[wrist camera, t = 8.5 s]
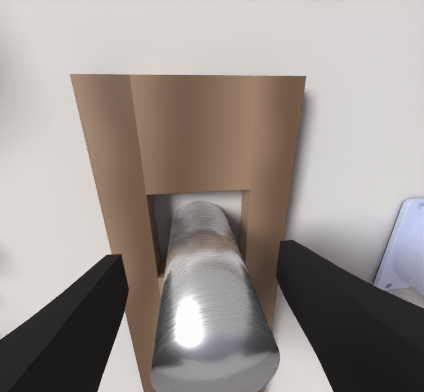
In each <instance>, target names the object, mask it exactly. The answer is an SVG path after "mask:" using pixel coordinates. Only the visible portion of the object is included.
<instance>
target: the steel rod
mask: <svg viewBox="0 0 424 392" xmlns="http://www.w3.org/2000/svg"><path fill="white" fill-rule="evenodd" d="M279 361H280V354H279V349H278V347H277V344H276V342H275V339H274V337H273V334H272V332H271V329H270V327H269V324H268V321H267V319H266V316H265V314H264V311H263V309H262V306H261V304H260V301H259V299H258V296H257V294H256V291H255V289H254V286H253V284H252V281H251V279H250V276H249V274H248V271H247V269H246V266H245V263H244V261H243V258H242V256H241V253H240V251H239V248H238V246H237V243H236V241H235V238H234V236H233V233H232V231H231V228H230V226H229V223H228V221H227V218H226V216H225V214H224V212H223V211H222V210H221V209H220V208H219V207H218V206H216V205H215V204H213V203H210V202H206V201H196V202H192V203H189V204H186V205H185V206H183V207H182V208H180V209H179V210H178V211H177V213H176V214H175V216H174V218H173V220H172V225H171V232H170V239H169V246H168V253H167V260H166V267H165V274H164V281H163V288H162V294H161V301H160V308H159V315H158V322H157V329H156V336H155V343H154V350H153V357H152V363H151V370H150V379H151V384H152V386H153V388H154V389H155V391H156V392H257V391H259V390H260V389H262V388H263V387H264V386H265V385H266V384H267V383H268V382H269V381H270V380H271V379H272V377H273V376H274V374H275V373H276V371H277V369H278V366H279Z"/></svg>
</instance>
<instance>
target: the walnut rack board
mask: <svg viewBox="0 0 424 392" xmlns="http://www.w3.org/2000/svg"><path fill="white" fill-rule="evenodd" d="M70 77H71V81H72V85H73V89H74V94H75V98H76V102H77V107H78V111H79V115H80V120H81V124H82V128H83V132H84V137H85V141H86V145H87V150H88V154H89V158H90V162H91V167H92V171H93V175H94V180H95V184H96V188H97V193H98V197H99V201H100V205H101V210H102V214H103V218H104V223H105V227H106V231H107V236H108V240H109V244H110V248H111V253H112V255H113V254H122V259H123V263H124V268H125V273H126V278H127V282H128V287H129V293H128V298H127V302H126V307H125V313H126V317H127V321H128V326H129V330H130V334H131V339H132V343H133V347H134V352H135V356H136V360H137V364H138V369H139V373H140V377H141V382H142V386H143V390H144V392H156V391H155V389H154V388H153V386H152V384H151V379H150V370H151V363H152V357H153V350H154V343H155V336H156V329H157V322H158V315H159V308H160V301H161V294H162V288H163V281H164V274H165V267H166V261H164V262H161V259H160V251H159V244H158V236H157V228H156V220H155V212H154V205H153V197H152V194H172V193H191V192H211V191H230V190H242V208H241V230H240V253H241V256H242V258H243V261H244V263H245V266H246V269H247V271H248V274H249V276H250V279H251V281H252V284H253V286H254V289H255V291H256V294H257V296H258V299H259V301H260V304H261V306H262V309H263V311H264V314H265V316H266V319H267V321H268V324H269V327H270V329H271V328H272V321H273V314H274V306H275V299H276V292H277V284H278V280H277V277H276V270H277V262H278V254H279V247H280V241H284V234H285V226H286V219H287V212H288V204H289V197H290V190H291V183H292V175H293V168H294V161H295V154H296V146H297V139H298V132H299V124H300V117H301V110H302V103H303V95H304V88H305V81H306V76H224V75H110V74H70ZM257 392H263V388H262V389H260V390H259V391H257Z"/></svg>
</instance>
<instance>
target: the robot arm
mask: <svg viewBox="0 0 424 392" xmlns="http://www.w3.org/2000/svg"><path fill="white" fill-rule="evenodd" d="M276 277H277V280H278V283H279V285H280V288H281V290H282V292H283V295H284V297H285V299H286V301H287V303H288V304H289V306H290V308H291V310H292V312H293V313H294V315H295V317H296V319H297V321H298V322H299V324H300V326H301V328H302V329H303V331H304V333H305V335H306V337H307V338H308V340H309V342H310V344H311V346H312V347H313V349H314V351H315V353H316V355H317V357H318V359H319V361H320V363H321V365H322V368H323V370H324V372H325V374H326V376H327V379H328V381H329V383H330V385H331V387H332V389H333V392H424V308H421V307H419V306H417V305H414V304H412V303H410V302H408V301H405V300H403V299H401V298H399V297H397V296H394V295H392V294H390V293H388V292H386V291H384V290H393V289H402V288H411V287H412V288H414V289H415V290H416V291H418V292H419V293H420V294H422V295H423V296H424V198H410V199H407V200H406V201H405V202H404V203H403V205H402V207H401V210H400V213H399V215H398V218H397V221H396V224H395V226H394V229H393V232H392V235H391V237H390V240H389V243H388V246H387V249H386V251H385V254H384V257H383V260H382V262H381V265H380V268H379V271H378V273H377V276H376V279H375V282H374V286H373V285H371V284H370V283H368V282H366V281H364V280H362V279H360V278H358V277H356V276H354V275H353V274H351V273H349V272H347V271H345V270H343V269H342V268H340V267H338V266H336V265H335V264H333V263H331V262H330V261H328V260H326V259H324V258H323V257H321V256H319V255H318V254H316V253H314V252H313V251H311V250H309V249H308V248H306V247H304V246H303V245H301V244H299V243H297V242H295V241H293V240H288V241H280V247H279V254H278V262H277V270H276ZM128 293H129V287H128V282H127V278H126V273H125V268H124V263H123V259H122V254H113V255H106V256H105V257H104V258H102V259H101V260H100V261H99V262H98V263H96V264H95V265H94V266H93V267H92V268H91V269H90V270H88V271H87V272H86V273H85V274H84V275H83V276H81V277H80V278H79V279H78V280H77V281H76V282H74V283H73V284H72V285H71V286H70V287H69V288H67V289H66V290H65V291H64V292H63V293H61V294H60V295H59V296H58V297H56V298H55V299H54V300H52V301H51V302H50V303H49V304H47V305H46V306H45V307H44V308H42V309H41V310H40V311H39V312H37V313H36V314H35V315H34V316H32V317H31V318H30V319H28V320H27V321H26V322H24V323H23V324H22V325H20V326H19V327H17V328H16V329H15V330H13V331H12V332H10V333H9V334H8V335H6V336H5V337H3V338H2V339H0V392H97V391H98V388H99V385H100V382H101V378H102V375H103V373H104V370H105V367H106V364H107V361H108V358H109V355H110V353H111V350H112V347H113V344H114V341H115V338H116V335H117V333H118V330H119V327H120V324H121V321H122V318H123V315H124V311H125V307H126V302H127V298H128Z"/></svg>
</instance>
